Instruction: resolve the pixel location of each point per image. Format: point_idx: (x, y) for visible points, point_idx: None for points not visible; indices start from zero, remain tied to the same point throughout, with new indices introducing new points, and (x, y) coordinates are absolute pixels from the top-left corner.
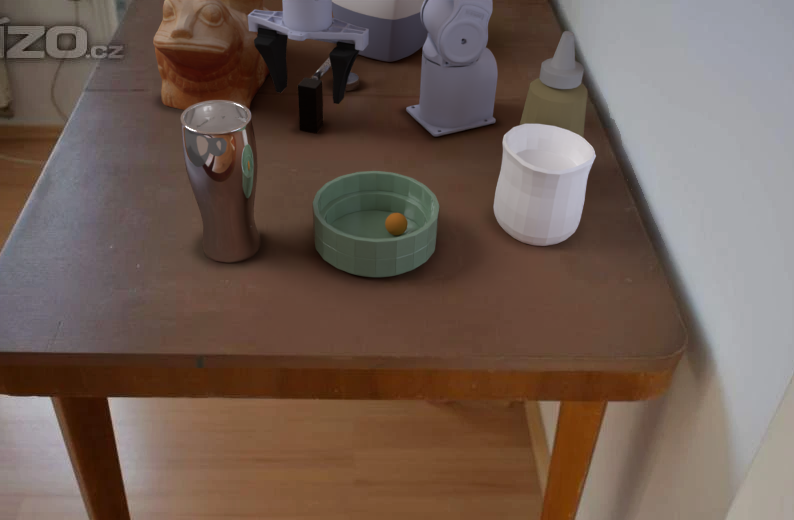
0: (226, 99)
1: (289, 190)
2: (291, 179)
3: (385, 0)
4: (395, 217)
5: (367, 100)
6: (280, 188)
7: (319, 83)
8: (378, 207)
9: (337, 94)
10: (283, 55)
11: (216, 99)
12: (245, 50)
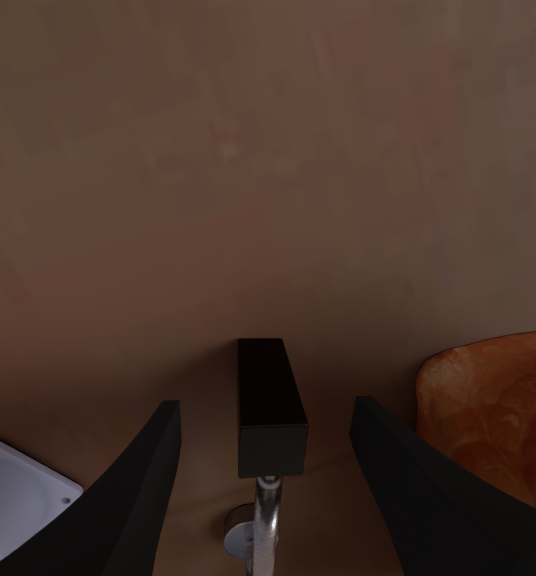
0: (478, 373)
1: (198, 26)
2: (217, 96)
3: None
4: None
5: (185, 492)
6: (228, 31)
7: (240, 459)
8: None
9: (150, 422)
10: (405, 538)
11: (502, 364)
12: None
